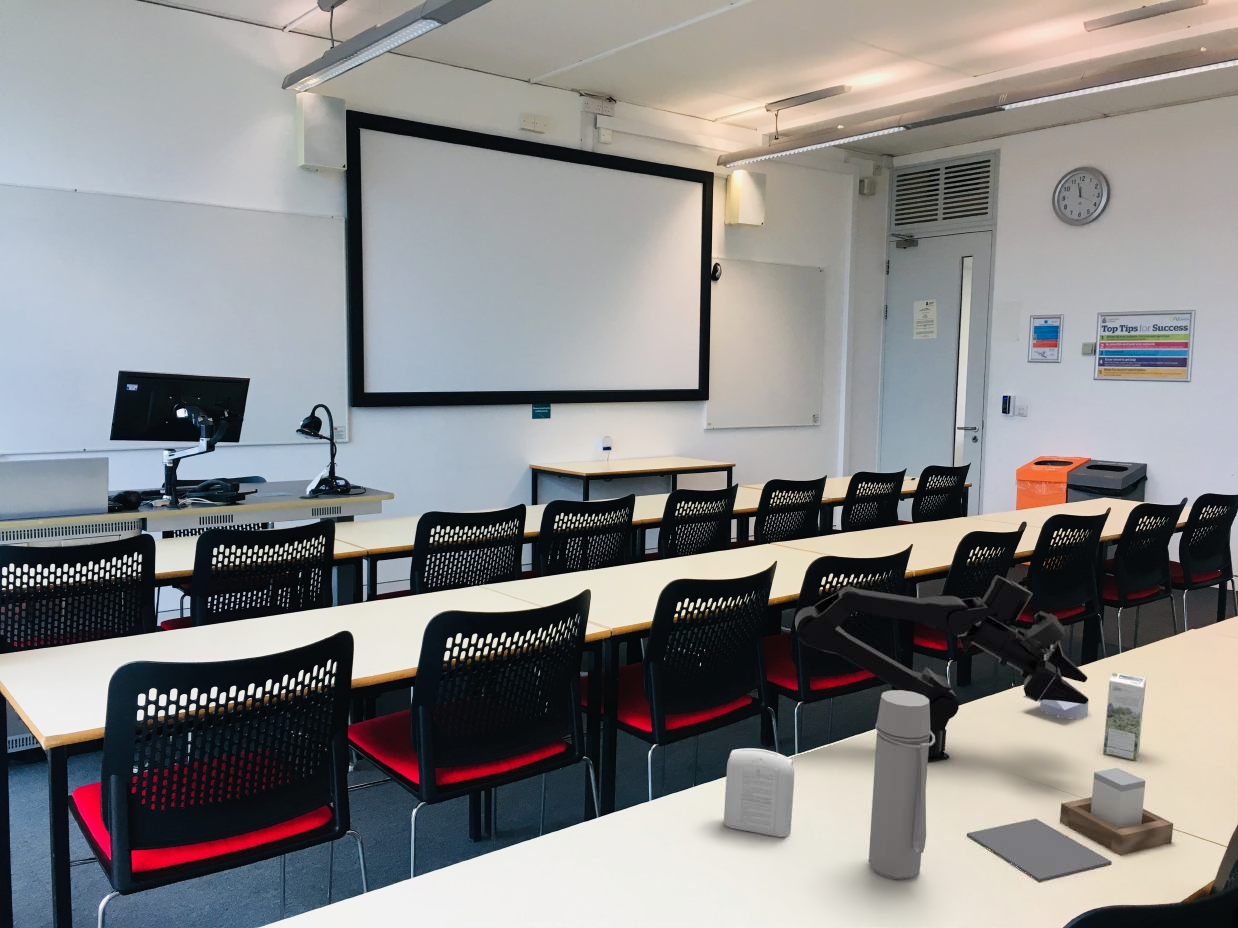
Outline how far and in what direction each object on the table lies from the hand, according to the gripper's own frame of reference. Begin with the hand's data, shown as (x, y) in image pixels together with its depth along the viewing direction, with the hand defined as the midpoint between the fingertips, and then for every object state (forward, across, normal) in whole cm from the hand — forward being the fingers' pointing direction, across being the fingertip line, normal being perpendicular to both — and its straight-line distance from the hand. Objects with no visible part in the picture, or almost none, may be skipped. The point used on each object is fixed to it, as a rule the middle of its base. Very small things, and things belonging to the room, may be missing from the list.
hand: (1086, 690), depth 171 cm
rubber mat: (-1, -34, +13) cm, 37 cm away
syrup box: (+14, +13, +12) cm, 23 cm away
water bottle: (-17, -50, +19) cm, 57 cm away
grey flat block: (-36, -47, +29) cm, 66 cm away
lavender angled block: (+5, +31, +19) cm, 36 cm away
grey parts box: (+10, -22, +10) cm, 26 cm away
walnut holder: (+10, -22, +10) cm, 26 cm away
